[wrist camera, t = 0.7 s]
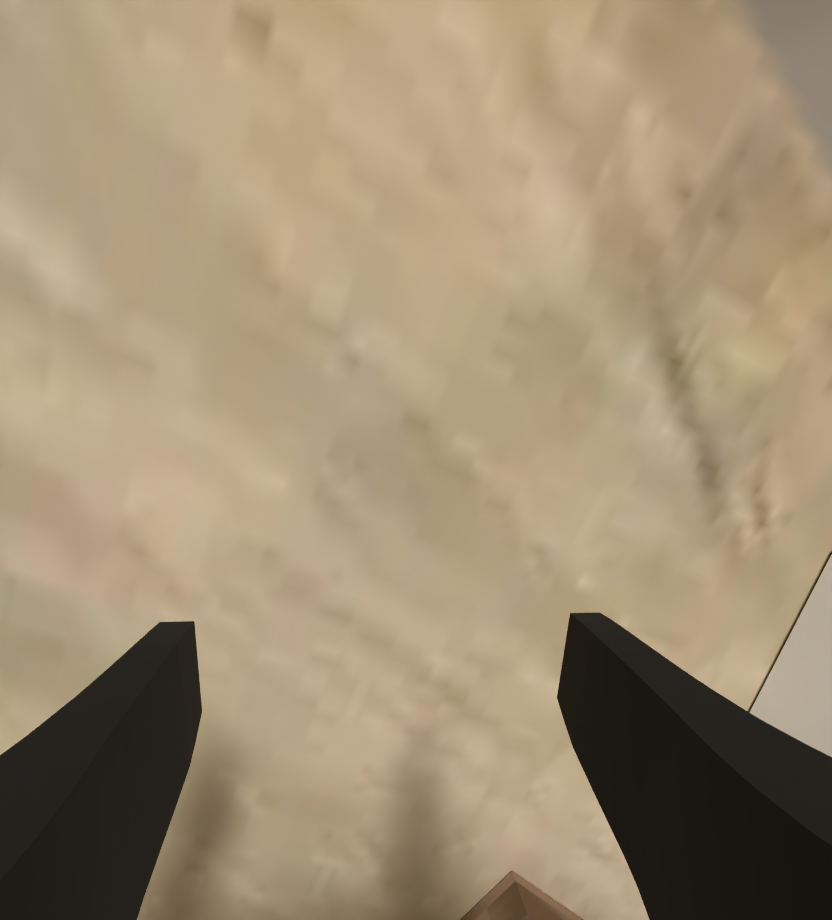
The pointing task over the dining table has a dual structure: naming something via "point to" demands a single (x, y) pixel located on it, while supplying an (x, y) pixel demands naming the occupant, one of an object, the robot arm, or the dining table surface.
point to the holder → (518, 903)
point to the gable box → (804, 674)
